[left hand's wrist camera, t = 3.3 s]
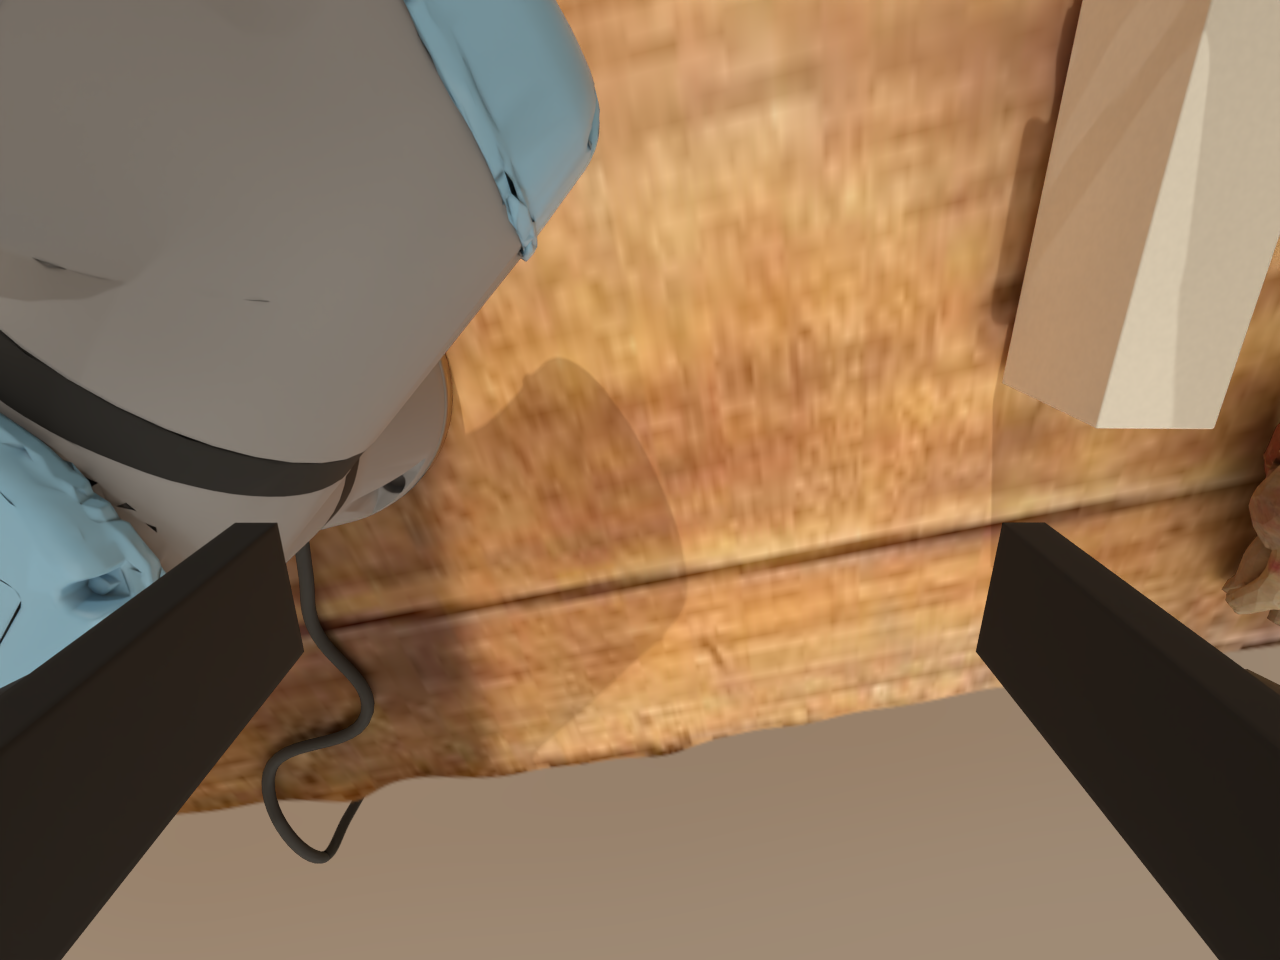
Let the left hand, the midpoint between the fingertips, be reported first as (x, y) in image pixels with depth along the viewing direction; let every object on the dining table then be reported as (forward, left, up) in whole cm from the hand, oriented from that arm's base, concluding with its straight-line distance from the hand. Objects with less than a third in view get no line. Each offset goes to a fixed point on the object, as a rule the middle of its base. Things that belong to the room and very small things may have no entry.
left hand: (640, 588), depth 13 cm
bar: (+12, -22, -25) cm, 35 cm away
